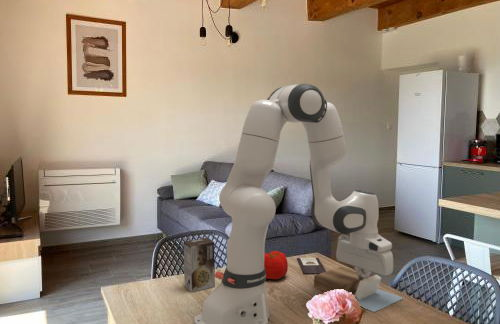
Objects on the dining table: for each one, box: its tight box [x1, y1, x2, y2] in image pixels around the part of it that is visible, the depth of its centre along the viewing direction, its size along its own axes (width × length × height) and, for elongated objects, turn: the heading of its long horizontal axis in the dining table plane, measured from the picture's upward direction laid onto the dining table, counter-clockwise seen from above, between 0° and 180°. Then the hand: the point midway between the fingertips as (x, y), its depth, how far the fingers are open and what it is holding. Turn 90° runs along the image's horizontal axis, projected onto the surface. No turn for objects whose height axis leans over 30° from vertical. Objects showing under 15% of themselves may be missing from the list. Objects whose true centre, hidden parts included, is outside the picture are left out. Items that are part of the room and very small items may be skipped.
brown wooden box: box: [313, 266, 360, 294], centre depth 146 cm, size 14×12×4 cm
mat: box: [353, 288, 404, 313], centre depth 136 cm, size 16×12×1 cm
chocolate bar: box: [296, 257, 327, 276], centre depth 167 cm, size 9×1×18 cm
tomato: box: [264, 250, 289, 280], centre depth 155 cm, size 11×12×9 cm
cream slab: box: [354, 274, 382, 300], centre depth 137 cm, size 9×6×2 cm
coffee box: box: [183, 237, 216, 293], centre depth 145 cm, size 9×6×16 cm
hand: (362, 280), depth 138 cm, fingers closed
